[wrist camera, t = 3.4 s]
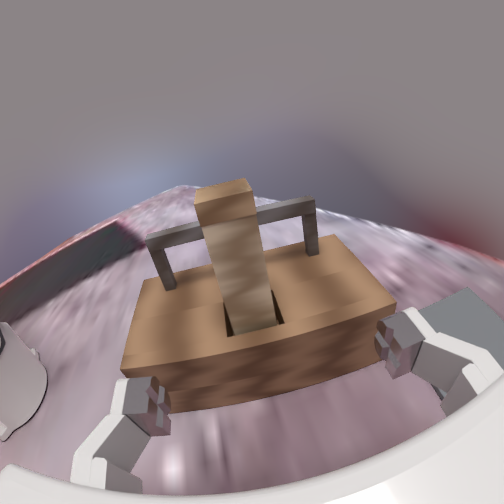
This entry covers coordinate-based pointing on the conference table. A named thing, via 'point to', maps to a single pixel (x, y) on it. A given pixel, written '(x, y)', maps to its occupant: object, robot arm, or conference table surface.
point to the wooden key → (236, 253)
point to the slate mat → (467, 323)
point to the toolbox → (261, 341)
